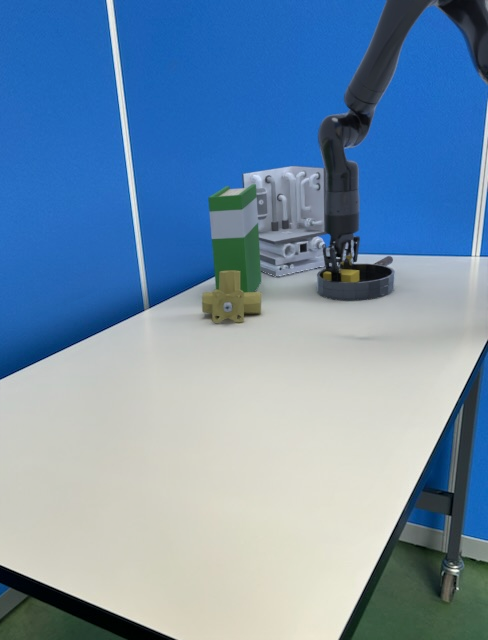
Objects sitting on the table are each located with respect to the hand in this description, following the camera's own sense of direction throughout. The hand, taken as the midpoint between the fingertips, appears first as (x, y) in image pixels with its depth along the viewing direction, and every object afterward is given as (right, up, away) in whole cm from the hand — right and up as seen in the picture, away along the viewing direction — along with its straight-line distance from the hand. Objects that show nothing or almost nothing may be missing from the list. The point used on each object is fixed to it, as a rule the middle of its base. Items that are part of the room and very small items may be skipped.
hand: (341, 284), depth 147 cm
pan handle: (+11, +5, +7) cm, 14 cm away
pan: (+3, -1, -2) cm, 4 cm away
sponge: (0, 0, 0) cm, 0 cm away
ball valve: (-27, -9, -11) cm, 30 cm away
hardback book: (-23, -1, +6) cm, 24 cm away
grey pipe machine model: (-9, +9, +24) cm, 27 cm away
